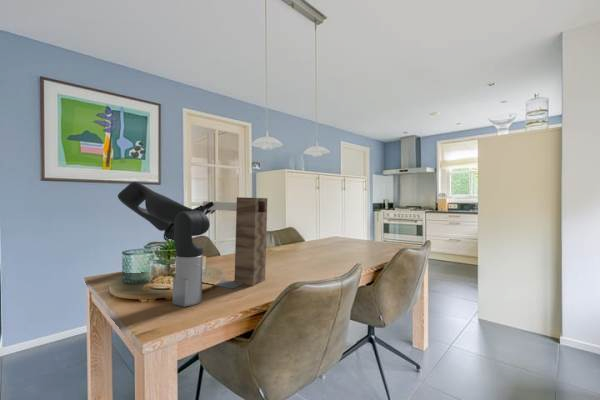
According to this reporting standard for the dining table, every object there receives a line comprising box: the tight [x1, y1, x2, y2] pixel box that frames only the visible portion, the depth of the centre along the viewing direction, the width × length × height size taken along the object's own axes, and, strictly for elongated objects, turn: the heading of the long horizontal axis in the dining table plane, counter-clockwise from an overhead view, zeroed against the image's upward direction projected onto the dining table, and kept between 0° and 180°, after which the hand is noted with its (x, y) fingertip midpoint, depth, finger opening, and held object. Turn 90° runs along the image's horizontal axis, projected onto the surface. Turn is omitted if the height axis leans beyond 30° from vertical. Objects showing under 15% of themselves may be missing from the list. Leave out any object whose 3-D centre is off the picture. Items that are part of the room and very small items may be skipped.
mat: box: [214, 279, 243, 290], centre depth 126 cm, size 7×25×1 cm, turn 66°
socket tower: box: [234, 196, 268, 287], centre depth 128 cm, size 10×10×38 cm
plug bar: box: [202, 200, 237, 212], centre depth 135 cm, size 4×22×4 cm, turn 66°
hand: (215, 203), depth 137 cm, fingers closed on plug bar, 4 cm apart
